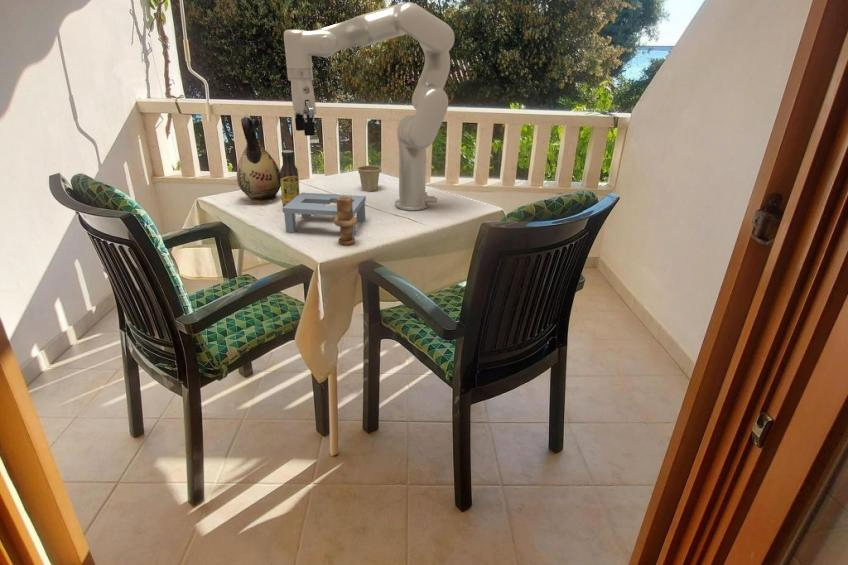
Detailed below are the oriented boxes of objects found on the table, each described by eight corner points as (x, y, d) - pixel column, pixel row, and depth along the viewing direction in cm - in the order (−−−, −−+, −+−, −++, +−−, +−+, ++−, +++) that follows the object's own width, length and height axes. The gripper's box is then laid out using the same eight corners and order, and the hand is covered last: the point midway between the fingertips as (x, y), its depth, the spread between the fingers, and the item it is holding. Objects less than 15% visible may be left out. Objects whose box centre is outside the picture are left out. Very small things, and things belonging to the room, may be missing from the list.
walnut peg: (359, 239, 150) (357, 196, 144) (354, 247, 144) (352, 202, 138) (339, 237, 151) (336, 194, 145) (333, 245, 145) (330, 201, 139)
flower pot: (358, 186, 202) (357, 165, 198) (381, 186, 203) (380, 165, 200) (357, 192, 194) (357, 171, 190) (381, 192, 195) (381, 170, 191)
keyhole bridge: (303, 215, 169) (301, 192, 165) (366, 219, 166) (365, 196, 163) (285, 232, 154) (282, 207, 150) (353, 237, 151) (352, 212, 148)
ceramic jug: (246, 193, 190) (234, 112, 177) (286, 193, 191) (278, 113, 178) (234, 207, 175) (220, 119, 161) (278, 207, 176) (268, 120, 163)
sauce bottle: (284, 211, 172) (278, 153, 163) (280, 206, 177) (274, 150, 168) (303, 208, 175) (298, 152, 166) (298, 203, 180) (293, 148, 171)
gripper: (321, 76, 145) (325, 136, 152) (304, 72, 158) (308, 127, 166) (295, 77, 142) (301, 138, 149) (280, 73, 155) (286, 129, 163)
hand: (305, 132), depth 158 cm, fingers open, 9 cm apart
